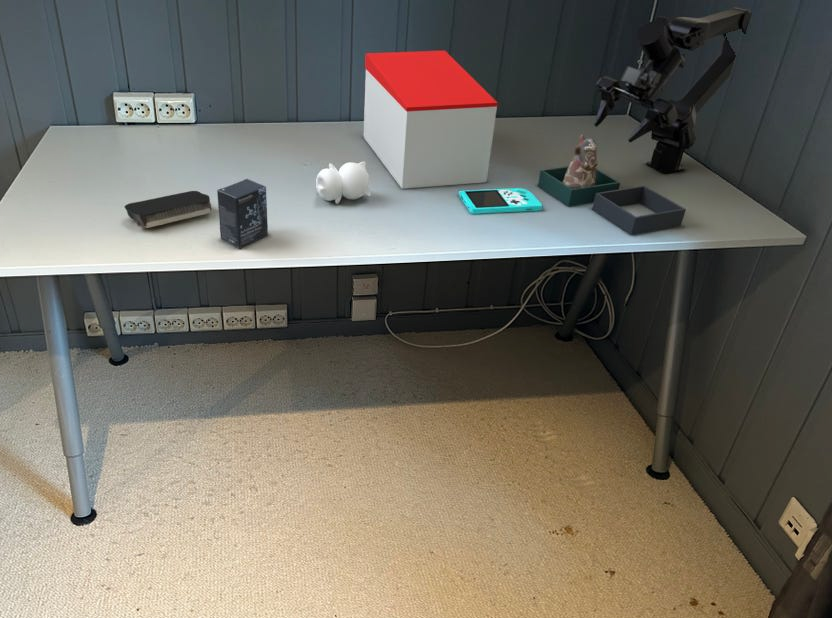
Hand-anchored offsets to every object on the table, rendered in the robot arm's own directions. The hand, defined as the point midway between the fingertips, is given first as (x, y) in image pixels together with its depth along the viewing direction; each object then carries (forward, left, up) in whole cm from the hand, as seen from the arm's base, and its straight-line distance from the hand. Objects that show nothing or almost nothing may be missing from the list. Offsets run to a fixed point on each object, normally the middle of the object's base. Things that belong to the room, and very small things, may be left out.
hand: (611, 133), depth 162 cm
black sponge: (+96, -15, -13) cm, 98 cm away
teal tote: (+7, +1, -12) cm, 14 cm away
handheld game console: (+27, +1, -13) cm, 30 cm away
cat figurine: (+59, -13, -13) cm, 62 cm away
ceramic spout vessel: (+7, +1, -12) cm, 14 cm away
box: (+84, -1, -13) cm, 85 cm away
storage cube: (+32, -29, -13) cm, 45 cm away
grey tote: (+3, +17, -12) cm, 21 cm away
